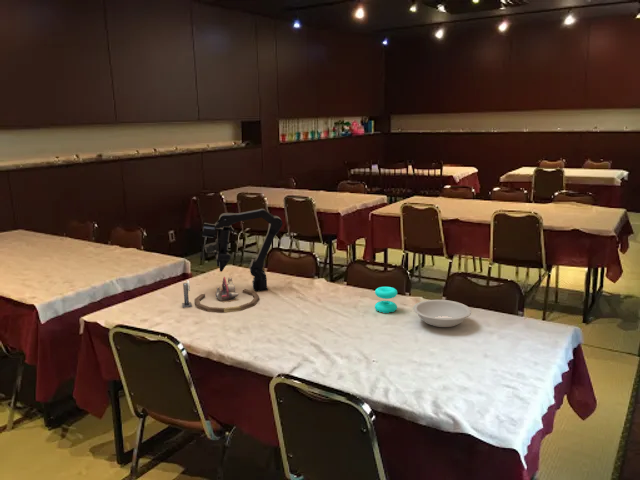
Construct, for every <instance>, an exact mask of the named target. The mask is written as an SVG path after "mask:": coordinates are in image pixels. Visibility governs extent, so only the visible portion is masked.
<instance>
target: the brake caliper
mask: <svg viewBox="0 0 640 480" xmlns="http://www.w3.org/2000/svg"><path fill="white" fill-rule="evenodd" d="M226 279H227V278H226V277H225V276H223V278H222V284H221V288H222V289H220V287H219V286H218V287H217V288H216V290H215V291H216V292H215V297H216V298H217V300H218V301H220V302H222V303H227V302H228V303H229V302H234V301H239V299H238V298H237V299H236V297H238V296H239V293H238V292H236V285H235V283H233V278H232V277H231V278H230V277H228V279H227V280H226ZM227 282H228V283H227Z"/></svg>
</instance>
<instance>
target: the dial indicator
mask: <svg viewBox="0 0 640 480" xmlns="http://www.w3.org/2000/svg"><path fill="white" fill-rule="evenodd" d="M190 283H191V282H190V279H187V280H186V282H184V283H182V287H183V298H184V301H183V302H182V303H181V306H182V308H183V309H185V308H191V307H193V306H192V302H191V301H190V300H189V291H191V285H190Z"/></svg>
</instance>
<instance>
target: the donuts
mask: <svg viewBox="0 0 640 480" xmlns="http://www.w3.org/2000/svg"><path fill="white" fill-rule="evenodd" d="M374 294H375V296H376V297H378V298H380V299H384V300H380V301H378V302H376V303H375V305H374V309H375V310H376V311H377V312H378V311H379V312H378V313H381V312H383V313H382V314H390V313H389V312H392V313H395V312H396V311H397V309H398V306H397V304H396V303H395V302H393V301H391V300H390V299H394V298H395V297H397V295H398V290H397V289H396V288H395V287H393V286H392V287H391V286H379V287H377V288H376V289H375V290H374ZM395 310H396V311H395Z"/></svg>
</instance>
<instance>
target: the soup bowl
mask: <svg viewBox="0 0 640 480" xmlns="http://www.w3.org/2000/svg"><path fill="white" fill-rule="evenodd" d="M412 310H413V312H414V313H415V314H417V315H418V316H419V318H420V319H421V321H423V322H424V323H426V324H428V325H431V326H432V327H433V326H434V327H438V328H450V327H455V326H458V325H460V324H461V323H463V322H464V321H465V320H466V318H469V317H470V316H471V315H472V309H471V308H470V307H469V306H468V305H466V304H463V303H461V302H458V301H455V300H454V301H453V300H448V299H428V300H426V299H425V300H422V301H420V302H419V301H418V302H417V303H415V304H414V305H413V307H412ZM438 316H441V317H442V316H448V317H452V318H435V317H438Z"/></svg>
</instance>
